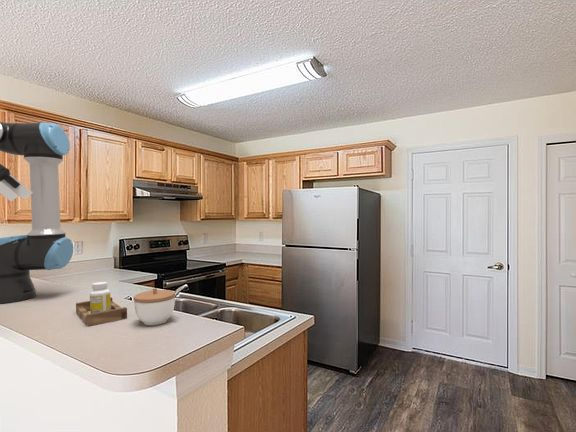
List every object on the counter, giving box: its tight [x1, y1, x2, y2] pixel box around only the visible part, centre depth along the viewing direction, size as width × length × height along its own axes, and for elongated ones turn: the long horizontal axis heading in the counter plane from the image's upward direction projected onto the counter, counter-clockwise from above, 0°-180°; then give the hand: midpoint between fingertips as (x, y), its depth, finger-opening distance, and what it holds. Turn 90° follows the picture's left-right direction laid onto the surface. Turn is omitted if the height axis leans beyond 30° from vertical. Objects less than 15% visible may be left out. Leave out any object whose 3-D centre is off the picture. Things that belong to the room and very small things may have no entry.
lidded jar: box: [133, 287, 176, 326], centre depth 93 cm, size 11×11×9 cm
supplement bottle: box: [89, 281, 111, 314], centre depth 101 cm, size 5×5×10 cm
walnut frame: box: [75, 296, 128, 327], centre depth 101 cm, size 18×10×3 cm, turn 41°
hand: (21, 197), depth 94 cm, fingers open, 13 cm apart
